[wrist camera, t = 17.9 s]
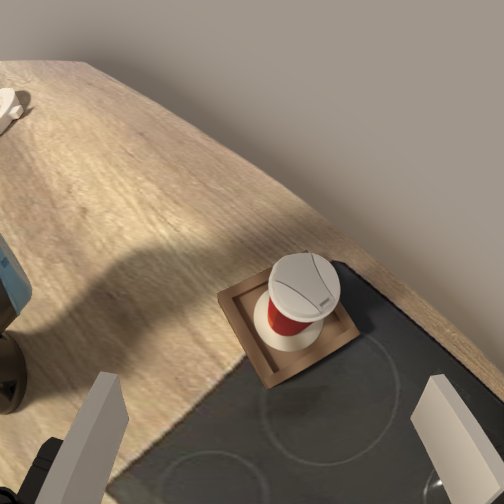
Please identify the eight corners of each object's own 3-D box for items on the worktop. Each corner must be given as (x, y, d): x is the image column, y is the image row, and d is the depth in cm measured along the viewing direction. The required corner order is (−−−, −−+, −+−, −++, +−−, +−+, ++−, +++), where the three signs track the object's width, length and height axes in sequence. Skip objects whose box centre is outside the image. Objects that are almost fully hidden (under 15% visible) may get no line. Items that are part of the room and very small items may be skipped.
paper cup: (324, 321, 44) (358, 288, 32) (283, 355, 42) (303, 334, 30) (289, 281, 47) (309, 234, 34) (247, 311, 45) (253, 273, 32)
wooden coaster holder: (266, 389, 43) (269, 388, 39) (218, 302, 48) (217, 293, 45) (351, 339, 47) (360, 334, 43) (301, 261, 52) (306, 250, 49)
